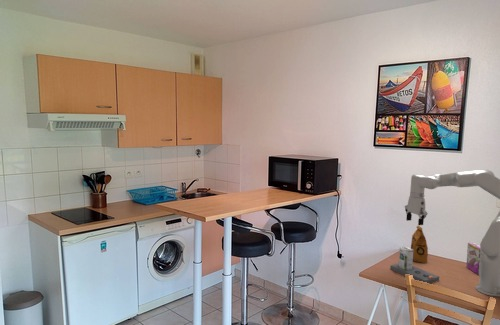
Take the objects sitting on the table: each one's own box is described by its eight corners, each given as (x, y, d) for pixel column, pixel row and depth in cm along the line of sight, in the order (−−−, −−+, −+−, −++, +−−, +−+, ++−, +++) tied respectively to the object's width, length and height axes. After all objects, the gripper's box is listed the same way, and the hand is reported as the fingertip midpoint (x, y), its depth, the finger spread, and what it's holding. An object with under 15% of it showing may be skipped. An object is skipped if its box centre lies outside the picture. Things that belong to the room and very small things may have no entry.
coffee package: (411, 262, 222) (413, 229, 220) (409, 255, 234) (411, 224, 232) (428, 264, 219) (430, 231, 216) (425, 257, 230) (427, 225, 228)
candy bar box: (465, 267, 213) (467, 242, 211) (473, 267, 213) (475, 242, 212) (477, 275, 202) (479, 248, 200) (486, 275, 202) (488, 248, 200)
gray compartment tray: (439, 280, 194) (439, 275, 194) (424, 285, 189) (425, 279, 189) (403, 265, 216) (404, 260, 215) (390, 269, 210) (390, 264, 210)
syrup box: (397, 269, 209) (399, 247, 208) (405, 268, 211) (406, 246, 210) (405, 273, 204) (406, 250, 203) (412, 272, 206) (413, 249, 205)
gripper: (433, 197, 195) (430, 226, 197) (411, 191, 212) (409, 218, 214) (422, 198, 193) (420, 227, 195) (401, 192, 210) (399, 219, 212)
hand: (414, 222), depth 204 cm, fingers open, 9 cm apart
